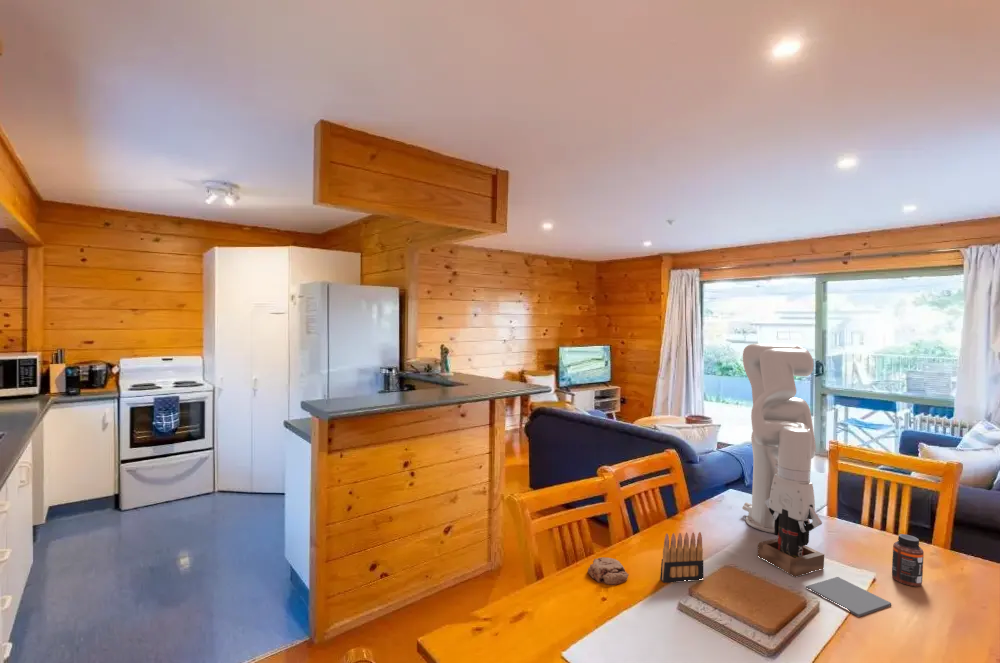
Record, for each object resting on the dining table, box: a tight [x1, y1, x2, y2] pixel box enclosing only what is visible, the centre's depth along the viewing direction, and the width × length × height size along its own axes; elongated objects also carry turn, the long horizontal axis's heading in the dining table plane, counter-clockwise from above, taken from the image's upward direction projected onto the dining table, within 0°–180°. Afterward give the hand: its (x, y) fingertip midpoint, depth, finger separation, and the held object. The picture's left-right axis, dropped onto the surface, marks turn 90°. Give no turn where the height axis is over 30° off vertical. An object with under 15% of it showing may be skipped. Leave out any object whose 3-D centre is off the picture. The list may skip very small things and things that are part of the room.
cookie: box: [587, 557, 629, 586], centre depth 123 cm, size 10×11×3 cm
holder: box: [756, 537, 825, 578], centre depth 130 cm, size 11×11×4 cm
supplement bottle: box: [891, 533, 925, 587], centre depth 122 cm, size 6×6×11 cm
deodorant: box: [777, 509, 805, 558], centre depth 130 cm, size 6×6×15 cm
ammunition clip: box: [659, 531, 705, 584], centre depth 120 cm, size 11×2×12 cm, turn 98°
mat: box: [805, 576, 892, 618], centre depth 115 cm, size 12×12×1 cm
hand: (790, 538), depth 130 cm, fingers closed on deodorant, 6 cm apart
